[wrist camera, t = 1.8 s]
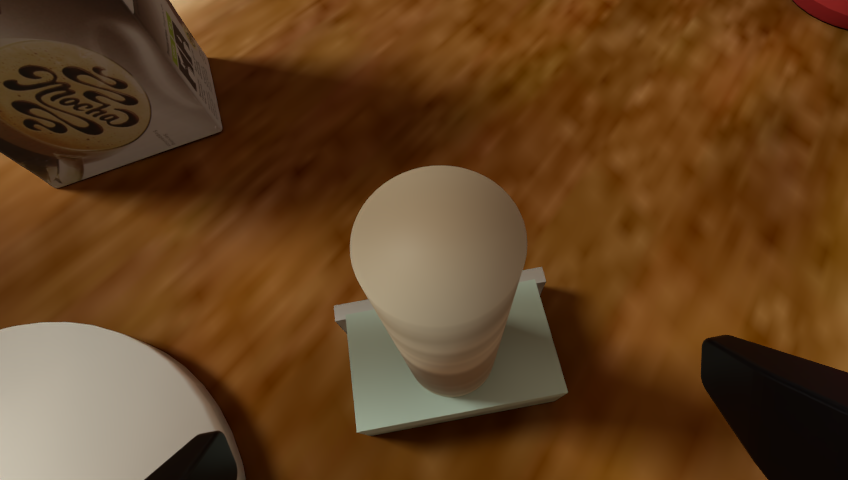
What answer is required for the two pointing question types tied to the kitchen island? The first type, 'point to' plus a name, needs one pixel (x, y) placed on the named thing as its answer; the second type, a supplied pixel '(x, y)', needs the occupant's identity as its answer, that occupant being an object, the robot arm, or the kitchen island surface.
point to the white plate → (95, 405)
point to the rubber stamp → (444, 305)
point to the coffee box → (99, 85)
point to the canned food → (827, 11)
